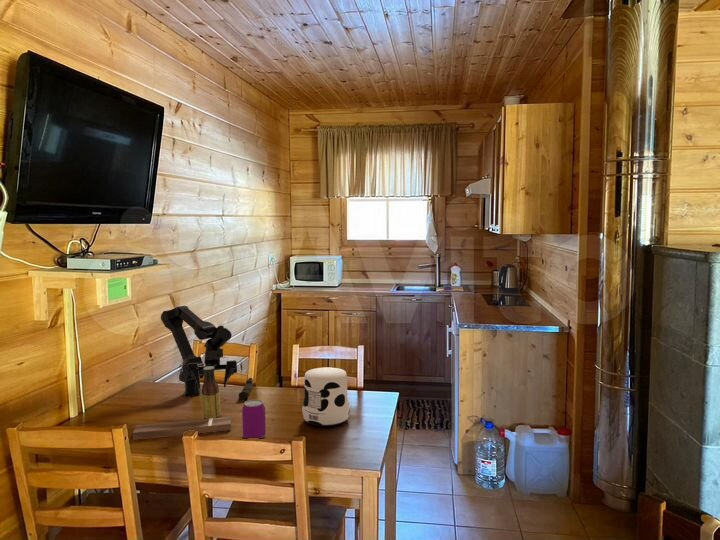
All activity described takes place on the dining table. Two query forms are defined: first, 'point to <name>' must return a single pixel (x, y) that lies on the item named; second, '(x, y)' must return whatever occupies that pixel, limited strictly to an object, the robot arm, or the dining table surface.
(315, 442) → the dining table surface
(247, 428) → the beverage can
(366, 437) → the dining table surface
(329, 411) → the milk container
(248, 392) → the hand tool
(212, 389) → the sauce bottle
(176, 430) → the walnut board
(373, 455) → the dining table surface
